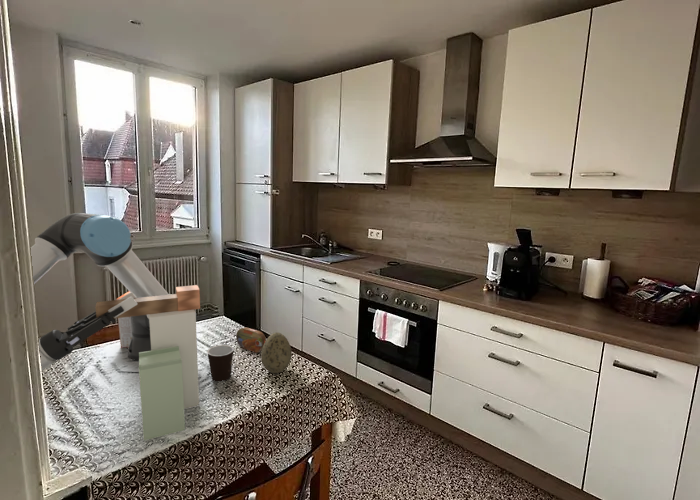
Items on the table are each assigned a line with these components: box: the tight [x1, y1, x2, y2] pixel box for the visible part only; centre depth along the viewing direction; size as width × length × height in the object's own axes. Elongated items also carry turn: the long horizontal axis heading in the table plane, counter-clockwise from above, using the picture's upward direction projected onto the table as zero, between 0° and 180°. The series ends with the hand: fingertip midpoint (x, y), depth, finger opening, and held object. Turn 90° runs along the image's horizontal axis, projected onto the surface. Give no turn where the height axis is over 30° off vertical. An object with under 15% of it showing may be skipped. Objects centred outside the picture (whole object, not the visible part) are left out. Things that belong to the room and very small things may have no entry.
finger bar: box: [95, 284, 201, 320], centre depth 109 cm, size 26×5×6 cm, turn 119°
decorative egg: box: [260, 332, 293, 374], centre depth 137 cm, size 11×11×15 cm
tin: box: [235, 327, 267, 354], centre depth 155 cm, size 15×3×8 cm, turn 58°
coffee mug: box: [206, 344, 235, 383], centre depth 134 cm, size 12×9×10 cm
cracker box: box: [115, 290, 132, 349], centre depth 157 cm, size 14×6×21 cm, turn 5°
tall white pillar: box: [149, 309, 200, 410], centre depth 115 cm, size 12×10×30 cm
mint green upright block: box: [138, 346, 186, 442], centre depth 104 cm, size 10×9×21 cm
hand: (134, 297), depth 107 cm, fingers closed on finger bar, 4 cm apart
